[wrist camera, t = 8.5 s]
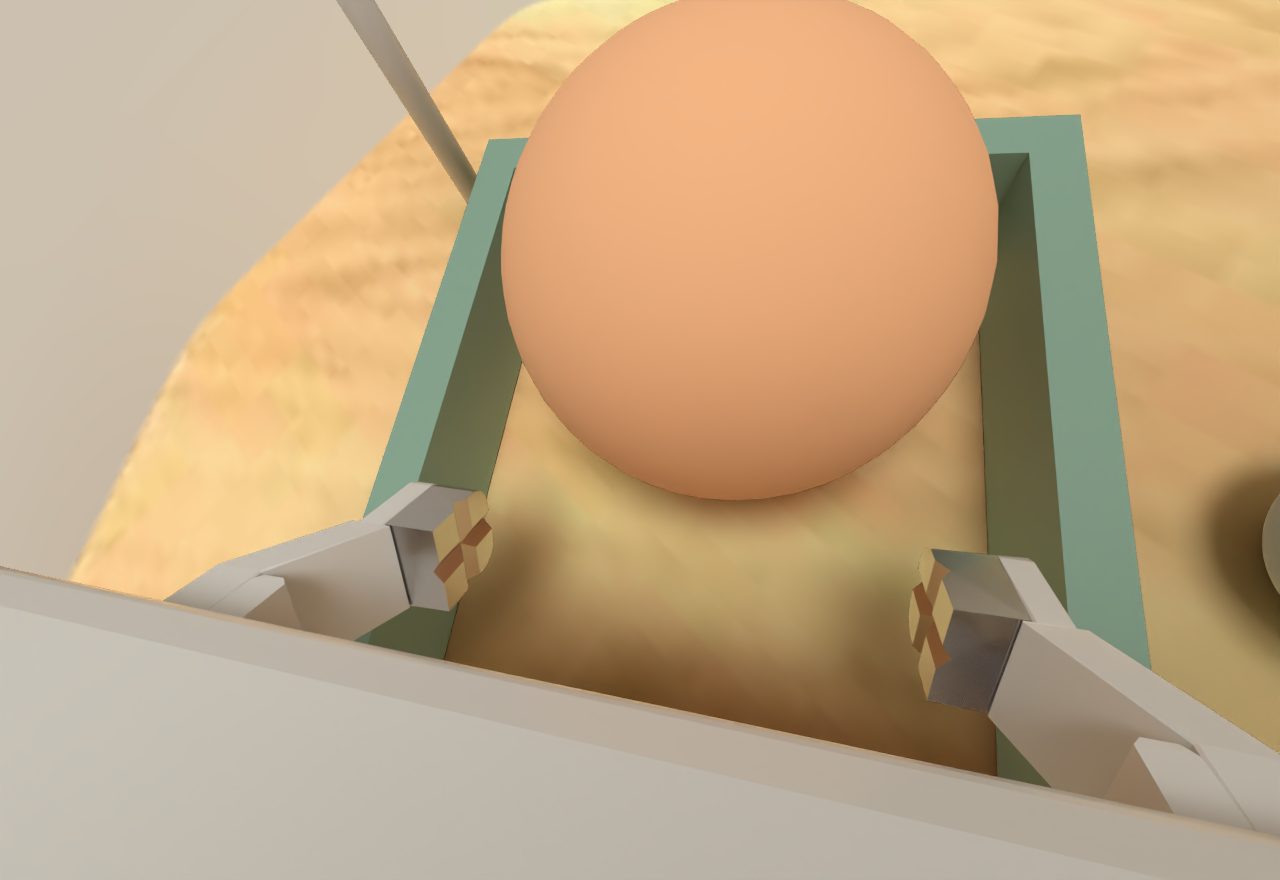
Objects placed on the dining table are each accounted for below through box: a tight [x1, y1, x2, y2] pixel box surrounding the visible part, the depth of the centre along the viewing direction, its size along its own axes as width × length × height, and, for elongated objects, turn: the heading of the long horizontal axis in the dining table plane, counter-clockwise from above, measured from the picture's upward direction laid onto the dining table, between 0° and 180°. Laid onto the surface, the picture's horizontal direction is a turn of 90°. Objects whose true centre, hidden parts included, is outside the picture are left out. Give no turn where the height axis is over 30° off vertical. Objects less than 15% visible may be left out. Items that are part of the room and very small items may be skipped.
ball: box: [501, 0, 998, 500], centre depth 12 cm, size 10×10×10 cm
